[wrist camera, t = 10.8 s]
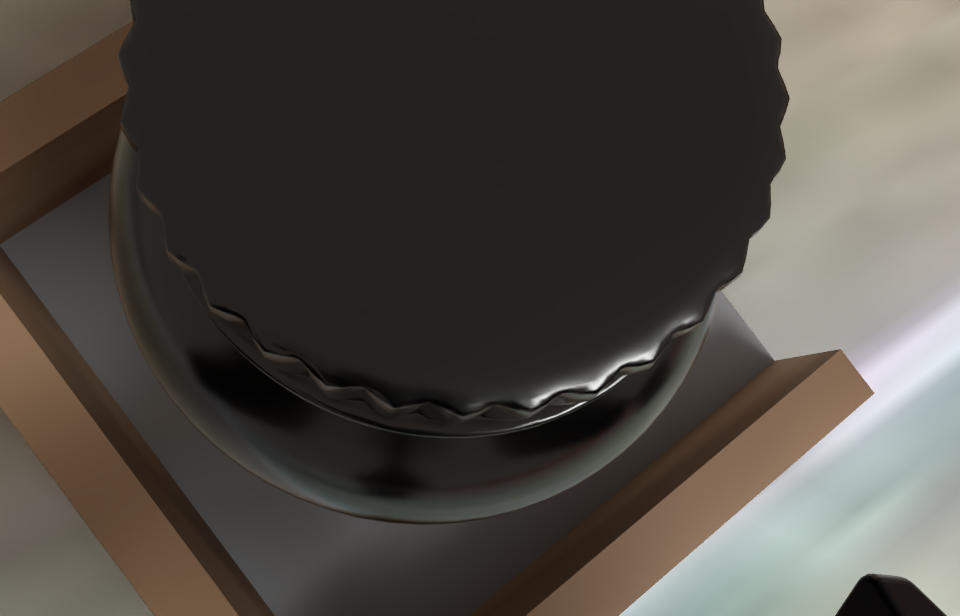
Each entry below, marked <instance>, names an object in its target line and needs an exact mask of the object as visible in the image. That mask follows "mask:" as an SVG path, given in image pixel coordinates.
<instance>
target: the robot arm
mask: <svg viewBox="0 0 960 616" xmlns="http://www.w3.org/2000/svg"><path fill="white" fill-rule="evenodd" d="M835 616H947V615H945V614H944V613H943V612H942V611H941V610H940V609H939V608H938V607H937V606H936V605H935V604H934V603H933V602H932V601H931V600H930V599H929V598H928V597H927V596H926V595H925V594H924V593H923V592H922V591H921V590H920V589H919V588H918V587H916V586H915V585H914V584H913V583H912V582H911V581H909V580H907V579H905V578H903V577H899V576H891V575H881V574H867V575H865V576H863V577H862V578H861V579H860V580H859V581H858V582H857V584H856V585H855V587H854V588H853V590H852V591H851V593H850V594H849V596H848V597H847V599H846V600H845V602H844V603H843V605H842V606H841V608H840V609H839V611H838V612H837V614H836V615H835Z"/></svg>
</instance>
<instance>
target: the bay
mask: <svg viewBox="0 0 960 616" xmlns="http://www.w3.org/2000/svg"><path fill="white" fill-rule="evenodd" d="M133 23H134V22H131V23H129V24H128V25H126V26H124V27H123V28H121V29H119V30H118V31H116V32H114V33H113V34H111V35H110V36H108V37H106V38H105V39H103V40H101V41H100V42H98V43H96V44H95V45H93V46H92V47H90V48H88V49H87V50H85V51H83V52H82V53H80V54H78V55H77V56H75V57H73V58H72V59H70V60H69V61H67V62H65V63H64V64H62V65H60V66H59V67H57V68H55V69H54V70H52V71H51V72H49V73H47V74H46V75H44V76H42V77H41V78H39V79H37V80H36V81H34V82H33V83H31V84H29V85H28V86H26V87H24V88H23V89H21V90H19V91H18V92H16V93H14V94H13V95H11V96H10V97H8V98H6V99H5V100H3V101H1V102H0V408H1V409H2V410H3V412H4V413H5V414H6V416H7V417H8V418H9V420H10V421H11V422H12V424H13V425H14V427H15V428H16V429H17V431H18V432H19V433H20V435H21V436H22V437H23V439H24V440H25V441H26V443H27V444H28V445H29V447H30V448H31V450H32V451H33V452H34V454H35V455H36V456H37V458H38V459H39V460H40V462H41V463H42V464H43V466H44V467H45V468H46V470H47V471H48V473H49V474H50V475H51V477H52V478H53V479H54V481H55V482H56V483H57V485H58V486H59V487H60V489H61V490H62V491H63V493H64V494H65V496H66V497H67V498H68V500H69V501H70V502H71V504H72V505H73V506H74V508H75V509H76V510H77V512H78V513H79V514H80V516H81V517H82V519H83V520H84V521H85V523H86V524H87V525H88V527H89V528H90V529H91V531H92V532H93V533H94V535H95V536H96V538H97V539H98V540H99V542H100V543H101V544H102V546H103V547H104V548H105V550H106V551H107V552H108V554H109V555H110V556H111V558H112V559H113V561H114V562H115V563H116V565H117V566H118V567H119V569H120V570H121V571H122V573H123V574H124V575H125V577H126V578H127V579H128V581H129V582H130V584H131V585H132V586H133V588H134V589H135V590H136V592H137V593H138V594H139V596H140V597H141V598H142V600H143V601H144V602H145V604H146V605H147V607H148V608H149V609H150V611H151V612H152V613H153V615H154V616H619V615H620V614H621V613H622V612H623V611H624V610H625V609H627V608H628V607H629V606H630V605H631V604H632V603H633V602H635V601H636V600H637V599H638V598H639V597H640V596H642V595H643V594H644V593H645V592H646V591H647V590H648V589H650V588H651V587H652V586H653V585H654V584H655V583H656V582H658V581H659V580H660V579H661V578H662V577H663V576H665V575H666V574H667V573H668V572H669V571H670V570H671V569H673V568H674V567H675V566H676V565H677V564H678V563H680V562H681V561H682V560H683V559H684V558H685V557H686V556H688V555H689V554H690V553H691V552H692V551H693V550H694V549H696V548H697V547H698V546H699V545H700V544H701V543H703V542H704V541H705V540H706V539H707V538H708V537H709V536H711V535H712V534H713V533H714V532H715V531H716V530H718V529H719V528H720V527H721V526H722V525H723V524H724V523H726V522H727V521H728V520H729V519H730V518H731V517H732V516H734V515H735V514H736V513H737V512H738V511H739V510H741V509H742V508H743V507H744V506H745V505H746V504H747V503H749V502H750V501H751V500H752V499H753V498H754V497H756V496H757V495H758V494H759V493H760V492H761V491H762V490H764V489H765V488H766V487H767V486H768V485H769V484H770V483H772V482H773V481H774V480H775V479H776V478H777V477H779V476H780V475H781V474H782V473H783V472H784V471H785V470H787V469H788V468H789V467H790V466H791V465H792V464H794V463H795V462H796V461H797V460H798V459H799V458H800V457H802V456H803V455H804V454H805V453H806V452H807V451H808V450H810V449H811V448H812V447H813V446H814V445H815V444H817V443H818V442H819V441H820V440H821V439H822V438H823V437H825V436H826V435H827V434H828V433H829V432H830V431H831V430H833V429H834V428H835V427H836V426H837V425H838V424H840V423H841V422H842V421H843V420H844V419H845V418H846V417H848V416H849V415H850V414H851V413H852V412H853V411H855V410H856V409H857V408H858V407H859V406H860V405H861V404H863V403H864V402H865V401H866V400H867V399H868V398H869V397H871V396H872V395H873V394H874V392H873V391H872V390H871V388H870V387H869V386H868V384H867V383H866V382H865V380H864V379H863V378H862V377H861V375H860V374H859V373H858V371H857V370H856V369H855V367H854V366H853V365H852V364H851V362H850V361H849V360H848V358H847V357H846V356H845V354H844V353H843V352H842V350H841V349H840V350H834V351H828V352H823V353H817V354H811V355H806V356H800V357H794V358H788V359H783V360H777V361H774V360H773V358H772V357H771V356H770V354H769V353H768V352H767V350H766V349H765V348H764V347H763V345H762V344H761V343H760V341H759V340H758V339H757V337H756V336H755V335H754V333H753V332H752V331H751V330H750V328H749V327H748V326H747V324H746V323H745V322H744V320H743V319H742V318H741V316H740V315H739V314H738V312H737V311H736V310H735V309H734V307H733V306H732V305H731V303H730V302H729V301H728V299H727V298H726V297H725V295H724V294H723V293H722V292H720V296H719V301H718V305H717V308H716V311H715V314H714V317H713V320H712V323H711V327H710V330H709V333H708V335H707V337H706V339H705V342H704V344H703V346H702V348H701V351H700V353H699V355H698V358H697V360H696V361H695V363H694V365H693V367H692V368H691V370H690V372H689V374H688V375H687V377H686V379H685V381H684V383H683V384H682V386H681V387H680V389H679V390H678V391H677V393H676V394H675V396H674V397H673V398H672V400H671V401H670V403H669V404H668V405H667V407H666V408H665V410H664V411H663V412H662V413H661V414H660V415H659V417H658V418H657V419H656V420H655V421H654V422H653V424H652V425H651V426H650V427H649V428H648V429H647V430H646V432H645V433H644V434H643V435H641V436H640V437H639V438H638V439H637V440H636V441H635V442H634V443H633V444H632V445H631V446H630V447H629V448H628V449H627V450H626V451H624V452H623V453H622V454H621V455H620V456H618V457H617V458H616V459H614V460H613V461H612V462H610V463H609V464H608V465H606V466H605V467H604V468H603V469H601V470H600V471H599V472H597V473H595V474H594V475H592V476H590V477H589V478H587V479H585V480H584V481H582V482H581V483H579V484H577V485H576V486H574V487H572V488H570V489H568V490H566V491H564V492H562V493H560V494H558V495H556V496H554V497H552V498H550V499H547V500H545V501H543V502H540V503H537V504H534V505H532V506H529V507H526V508H523V509H521V510H518V511H515V512H511V513H507V514H503V515H499V516H495V517H491V518H487V519H481V520H474V521H467V522H461V523H451V524H430V525H417V524H399V523H387V522H381V521H375V520H368V519H362V518H357V517H353V516H349V515H346V514H342V513H338V512H334V511H330V510H327V509H324V508H322V507H319V506H316V505H314V504H311V503H308V502H306V501H303V500H300V499H298V498H296V497H294V496H291V495H289V494H287V493H285V492H283V491H281V490H279V489H277V488H275V487H273V486H271V485H269V484H267V483H266V482H264V481H263V480H261V479H259V478H258V477H256V476H255V475H253V474H251V473H250V472H248V471H247V470H245V469H243V468H242V467H240V466H239V465H238V464H237V463H235V462H234V461H233V460H231V459H230V458H229V457H228V456H226V455H225V454H224V453H222V452H221V451H220V450H219V449H217V448H216V447H215V446H214V445H213V444H212V443H211V442H210V441H209V440H208V439H207V438H205V437H204V436H203V435H202V434H201V433H200V432H199V431H198V430H197V429H196V428H195V427H194V426H193V425H192V424H191V423H190V422H189V420H188V419H187V418H186V417H185V416H184V415H183V413H182V412H181V411H180V410H179V409H178V408H177V406H176V405H175V404H174V403H173V402H172V401H171V399H170V398H169V396H168V395H167V393H166V392H165V390H164V389H163V387H162V386H161V385H160V383H159V382H158V380H157V379H156V377H155V376H154V374H153V373H152V371H151V369H150V367H149V365H148V363H147V362H146V360H145V358H144V356H143V354H142V352H141V351H140V349H139V347H138V345H137V342H136V340H135V338H134V335H133V333H132V330H131V328H130V326H129V323H128V321H127V318H126V316H125V313H124V309H123V306H122V303H121V299H120V296H119V292H118V289H117V285H116V280H115V275H114V269H113V264H112V259H111V251H110V238H109V226H108V210H109V187H110V179H111V172H112V164H113V158H114V154H115V150H116V146H117V141H118V137H119V133H120V130H121V125H120V119H121V114H122V110H123V104H124V101H125V98H126V95H127V91H128V88H129V87H128V85H127V83H126V81H125V79H124V76H123V73H122V70H121V67H120V63H119V59H118V54H119V51H120V49H121V47H122V44H123V42H124V40H125V38H126V36H127V34H128V32H129V31H130V29H131V27H132V25H133Z"/></svg>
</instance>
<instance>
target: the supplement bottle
mask: <svg viewBox="0 0 960 616" xmlns="http://www.w3.org/2000/svg"><path fill="white" fill-rule="evenodd" d="M131 10H132V16H133V22H134V23H133V25H132V27H131V29H130V31H129V32H128V34H127V36H126V38H125V40H124V42H123V44H122V47H121V49H120V51H119V54H118V59H119V63H120V67H121V70H122V73H123V76H124V79H125V81H126V83H127V85H128V87H129V88H128V91H127V95H126V98H125V101H124V104H123V110H122V114H121V119H120V125H121V130H120V133H119V137H118V141H117V146H116V150H115V154H114V158H113V164H112V172H111V179H110V187H109V210H108V226H109V238H110V251H111V259H112V264H113V269H114V275H115V280H116V285H117V289H118V292H119V296H120V299H121V303H122V306H123V309H124V313H125V316H126V318H127V321H128V323H129V326H130V328H131V330H132V333H133V335H134V338H135V340H136V342H137V345H138V347H139V349H140V351H141V352H142V354H143V356H144V358H145V360H146V362H147V363H148V365H149V367H150V369H151V371H152V373H153V374H154V376H155V377H156V379H157V380H158V382H159V383H160V385H161V386H162V387H163V389H164V390H165V392H166V393H167V395H168V396H169V398H170V399H171V401H172V402H173V403H174V404H175V405H176V406H177V408H178V409H179V410H180V411H181V412H182V413H183V415H184V416H185V417H186V418H187V419H188V420H189V422H190V423H191V424H192V425H193V426H194V427H195V428H196V429H197V430H198V431H199V432H200V433H201V434H202V435H203V436H204V437H205V438H207V439H208V440H209V441H210V442H211V443H212V444H213V445H214V446H215V447H216V448H217V449H219V450H220V451H221V452H222V453H224V454H225V455H226V456H228V457H229V458H230V459H231V460H233V461H234V462H235V463H237V464H238V465H239V466H240V467H242V468H243V469H245V470H247V471H248V472H250V473H251V474H253V475H255V476H256V477H258V478H259V479H261V480H263V481H264V482H266V483H267V484H269V485H271V486H273V487H275V488H277V489H279V490H281V491H283V492H285V493H287V494H289V495H291V496H294V497H296V498H298V499H300V500H303V501H306V502H308V503H311V504H314V505H316V506H319V507H322V508H324V509H327V510H330V511H334V512H338V513H342V514H346V515H349V516H353V517H357V518H362V519H368V520H375V521H381V522H387V523H399V524H417V525H430V524H451V523H461V522H467V521H474V520H481V519H487V518H491V517H495V516H499V515H503V514H507V513H511V512H515V511H518V510H521V509H523V508H526V507H529V506H532V505H534V504H537V503H540V502H543V501H545V500H547V499H550V498H552V497H554V496H556V495H558V494H560V493H562V492H564V491H566V490H568V489H570V488H572V487H574V486H576V485H577V484H579V483H581V482H582V481H584V480H585V479H587V478H589V477H590V476H592V475H594V474H595V473H597V472H599V471H600V470H601V469H603V468H604V467H605V466H606V465H608V464H609V463H610V462H612V461H613V460H614V459H616V458H617V457H618V456H620V455H621V454H622V453H623V452H624V451H626V450H627V449H628V448H629V447H630V446H631V445H632V444H633V443H634V442H635V441H636V440H637V439H638V438H639V437H640V436H641V435H643V434H644V433H645V432H646V430H647V429H648V428H649V427H650V426H651V425H652V424H653V422H654V421H655V420H656V419H657V418H658V417H659V415H660V414H661V413H662V412H663V411H664V410H665V408H666V407H667V405H668V404H669V403H670V401H671V400H672V398H673V397H674V396H675V394H676V393H677V391H678V390H679V389H680V387H681V386H682V384H683V383H684V381H685V379H686V377H687V375H688V374H689V372H690V370H691V368H692V367H693V365H694V363H695V361H696V360H697V358H698V355H699V353H700V351H701V348H702V346H703V344H704V342H705V339H706V337H707V335H708V333H709V330H710V327H711V323H712V320H713V317H714V314H715V311H716V308H717V305H718V301H719V296H720V292H721V290H722V289H724V288H725V287H726V286H728V285H729V284H731V283H732V282H733V281H735V280H736V279H737V278H738V277H739V276H740V275H741V274H742V271H743V267H744V264H745V260H746V256H747V250H748V244H749V239H750V238H751V237H753V236H754V235H755V234H757V233H758V231H759V230H760V229H761V228H762V227H763V226H764V225H765V223H766V222H767V221H768V220H769V219H770V208H771V187H770V184H771V182H772V180H773V178H774V177H775V176H776V175H777V174H778V173H779V171H780V169H781V167H782V165H783V164H784V162H785V160H786V156H785V149H784V142H783V138H782V133H781V129H780V125H781V123H782V120H783V118H784V115H785V113H786V109H787V106H788V102H789V99H790V98H789V95H788V92H787V89H786V86H785V84H784V81H783V79H782V77H781V74H780V72H779V70H778V59H779V56H780V52H781V37H780V35H779V33H778V31H777V30H776V28H775V26H774V24H773V23H772V21H771V20H770V18H769V17H768V15H767V14H766V12H765V10H764V2H763V0H131Z"/></svg>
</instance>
